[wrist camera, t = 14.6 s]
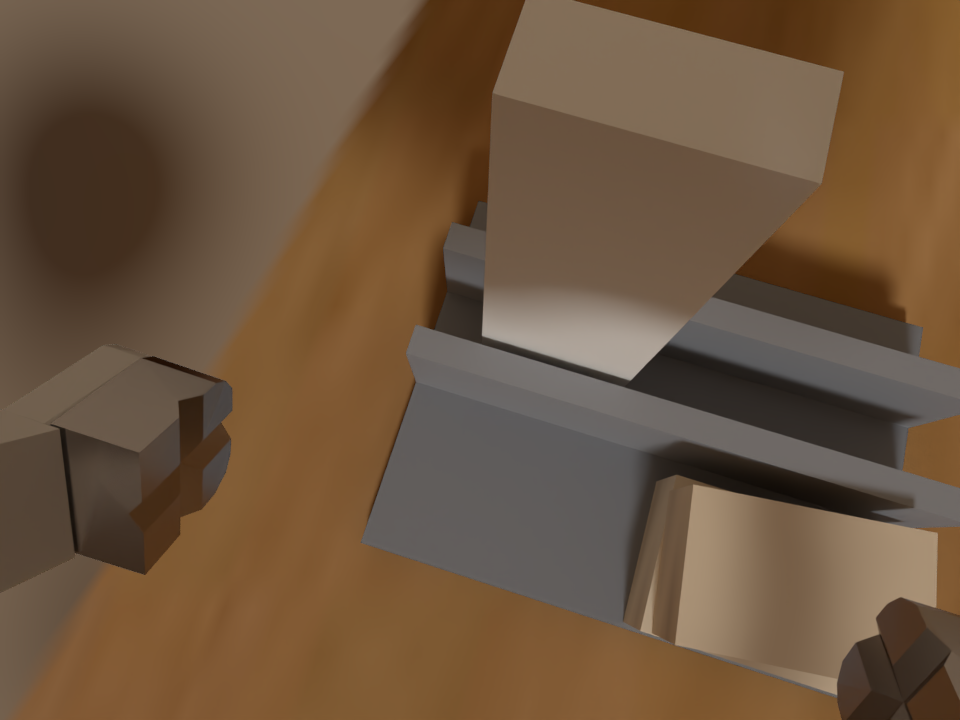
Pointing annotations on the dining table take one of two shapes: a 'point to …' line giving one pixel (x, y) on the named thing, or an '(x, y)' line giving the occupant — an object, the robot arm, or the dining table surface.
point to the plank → (635, 179)
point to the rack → (648, 436)
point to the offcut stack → (771, 579)
